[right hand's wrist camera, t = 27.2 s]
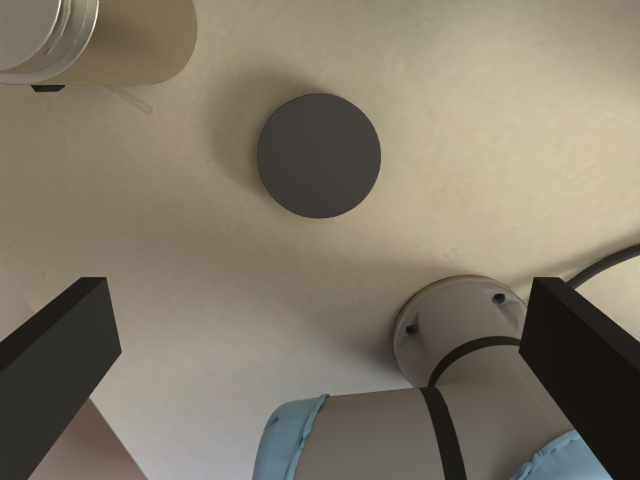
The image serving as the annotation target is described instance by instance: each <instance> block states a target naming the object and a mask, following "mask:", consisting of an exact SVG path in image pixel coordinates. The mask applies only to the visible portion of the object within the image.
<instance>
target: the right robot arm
mask: <svg viewBox="0 0 640 480" xmlns="http://www.w3.org/2000/svg"><path fill="white" fill-rule="evenodd" d="M639 255H640V245H637V246H634V247H632V248H629V249H626V250H624V251H621V252H619V253H616V254H614V255H611V256H609V257H607V258H605V259H603V260H601V261H599V262H597V263H595V264H593V265H591V266H590V267H588V268H586V269H585V270H583V271H582V272H580V273H579V274H577V275H576V276H575V277H573V278H572V279H570V280H569V281H568V282H566V283H565V282H564V281H563V280H562V279H560V278H559V277H534V279H533V284H532V288H531V293H530V298H529V303H528V307H526V305H525V304H524V303H523V302H522V301H521V299H520V298H519V297H518V296H517V295H516V294H515V293H514V292H513V291H512V290H511V289H509V288H508V287H507V286H505V285H503V284H502V283H500V282H498V281H495V280H493V279H489V278H486V277H481V276H457V277H451V278H447V279H444V280H441V281H438V282H436V283H433V284H431V285H429V286H428V287H426V288H424V289H423V290H421V291H420V292H419V293H417V294H416V295H415V296H414V297H413V298H412V299H410V301H409V302H408V303H407V304H406V305H405V307H404V308H403V309H402V311H401V313H400V314H399V316H398V318H397V320H396V323H395V326H394V331H393V348H394V353H395V356H396V360H397V363H398V366H399V368H400V370H401V372H402V373H403V375H404V376H405V378H406V379H407V380H408V382H409V383H410V384H411V385H412V386H413V387H414V388H408V389H398V390H389V391H380V392H371V393H361V394H351V395H340V396H330V395H329V394H323V395H321V396H320V397H317V398H310V399H304V400H298V401H291V402H287V403H285V404H282V405H281V406H279V407H278V408H277V409H276V410H275V411H274V412H273V413H272V415H271V416H270V418H269V420H268V421H267V424H266V426H265V429H264V432H263V434H262V437H261V440H260V444H259V448H258V452H257V456H256V461H255V466H254V472H253V478H252V480H640V342H639V341H637V340H636V339H635V338H634V337H632V336H631V335H630V334H629V333H627V332H626V331H625V330H624V329H622V328H621V327H620V326H619V325H617V324H616V323H615V322H614V321H613V320H611V319H610V318H609V317H608V316H606V315H605V314H604V313H603V312H601V311H600V310H599V309H598V308H596V307H595V306H594V305H593V304H591V303H590V302H589V301H588V300H586V299H585V298H584V297H583V296H581V295H580V294H579V293H578V292H577V291H575V290H574V289H576V288H577V287H578V286H580V285H581V284H583V283H584V282H585V281H587V280H588V279H590V278H591V277H593V276H594V275H596V274H598V273H600V272H601V271H603V270H605V269H607V268H609V267H611V266H614V265H616V264H618V263H620V262H623V261H625V260H628V259H631V258H633V257H636V256H639ZM121 353H122V351H121V346H120V341H119V337H118V332H117V327H116V322H115V317H114V313H113V308H112V303H111V298H110V293H109V289H108V284H107V279H106V277H81V278H80V279H78V280H77V281H76V282H75V283H73V284H72V285H71V286H70V287H68V288H67V289H66V290H65V291H63V292H62V293H61V294H60V295H59V296H57V297H56V298H55V299H54V300H52V301H51V302H50V303H49V304H47V305H46V306H45V307H44V308H42V309H41V310H40V311H39V312H37V313H36V314H35V315H34V316H32V317H31V318H30V319H29V320H27V321H26V322H25V323H24V324H23V325H21V326H20V327H19V328H18V329H16V330H15V331H14V332H13V333H11V334H10V335H9V336H8V337H6V338H5V339H4V340H3V341H1V342H0V480H28V478H29V477H30V475H31V474H32V473H33V471H34V470H35V469H36V467H37V466H38V465H39V463H40V462H41V461H42V459H43V458H44V457H45V455H46V454H47V452H48V451H49V450H50V448H51V447H52V446H53V444H54V443H55V442H56V440H57V439H58V438H59V436H60V435H61V434H62V432H63V431H64V430H65V428H66V427H67V425H68V424H69V423H70V422H71V420H72V419H73V417H74V416H75V415H76V413H77V412H78V411H79V409H80V408H81V407H82V405H83V404H84V403H85V401H86V400H87V399H88V397H89V396H90V395H91V393H92V392H93V390H94V389H95V388H96V386H97V385H98V384H99V382H100V381H101V380H102V378H103V377H104V376H105V374H106V373H107V372H108V370H109V369H110V368H111V366H112V365H113V363H114V362H115V361H116V359H117V358H118V357H119V355H120V354H121Z"/></svg>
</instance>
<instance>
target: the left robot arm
mask: <svg viewBox="0 0 640 480" xmlns="http://www.w3.org/2000/svg"><path fill="white" fill-rule="evenodd" d="M31 86H32V88H33V89H34V90H35V92H57V91H59V90H61V89H62V88H64V87H65V85H31Z"/></svg>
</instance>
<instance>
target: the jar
mask: <svg viewBox="0 0 640 480" xmlns="http://www.w3.org/2000/svg"><path fill="white" fill-rule="evenodd" d="M196 34H197V21H196V14H195V10H194V6H193V3H192V0H0V83H2V84H11V85H126V84H155V83H160V82H163V81H166V80H168V79H170V78H171V77H173V76H174V75H176V74H177V73H178V72H179V71H180V70H181V69H182V68H183V67H184V66H185V65H186V63H187V62H188V60H189V58H190V56H191V55H192V52H193V49H194V46H195V42H196Z"/></svg>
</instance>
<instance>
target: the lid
mask: <svg viewBox="0 0 640 480" xmlns="http://www.w3.org/2000/svg"><path fill="white" fill-rule="evenodd" d="M257 160H258V168H259V172H260V176H261V178H262V181H263V183H264V185H265V187H266V189H267V190H268V192H269V193H270V194H271V196H272V197H273V198H274V199H275V200H276V201H277V202H278V203H279V204H280V205H281V206H283V207H284V208H286V209H287V210H289V211H291V212H293V213H295V214H298V215H301V216H304V217H309V218H318V219H319V218H330V217H335V216H338V215H341V214H343V213H345V212H348V211H349V210H351V209H353V208H354V207H356V206H357V205H358V204H359V203H361V202H362V201H363V200H364V199H365V197H366V196H367V195H368V194H369V192H370V191H371V189H372V188H373V186H374V184H375V182H376V179H377V177H378V173H379V170H380V163H381V149H380V143H379V139H378V136H377V133H376V131H375V129H374V127H373V125H372V123H371V122H370V120H369V119H368V118H367V117H366V115H365V114H364V113H363V112H362V111H361V110H360V109H359V108H357V107H356V106H355V105H353V104H352V103H350V102H348V101H346V100H345V99H342V98H340V97H337V96H334V95H329V94H309V95H304V96H301V97H298V98H296V99H294V100H292V101H290V102H288V103H287V104H285V105H284V106H282V107H281V108H280V109H279V110H278V111H277V112H275V113H274V115H273V116H272V117H271V118H270V119H269V121H268V122H267V124H266V126H265V127H264V130H263V132H262V134H261V137H260V141H259V145H258V156H257Z"/></svg>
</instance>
